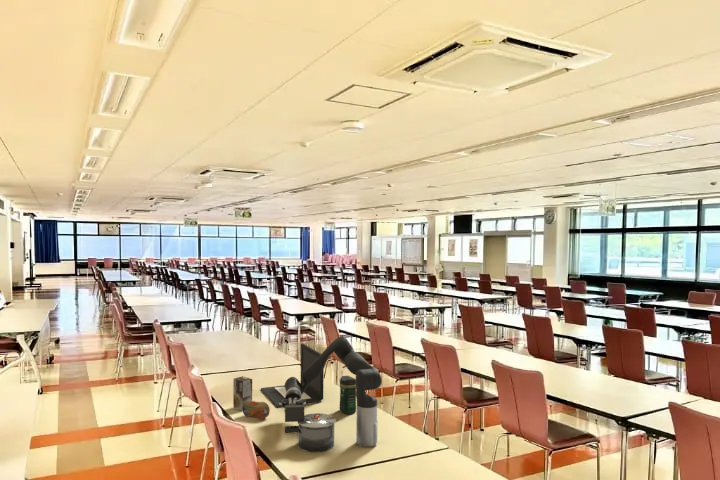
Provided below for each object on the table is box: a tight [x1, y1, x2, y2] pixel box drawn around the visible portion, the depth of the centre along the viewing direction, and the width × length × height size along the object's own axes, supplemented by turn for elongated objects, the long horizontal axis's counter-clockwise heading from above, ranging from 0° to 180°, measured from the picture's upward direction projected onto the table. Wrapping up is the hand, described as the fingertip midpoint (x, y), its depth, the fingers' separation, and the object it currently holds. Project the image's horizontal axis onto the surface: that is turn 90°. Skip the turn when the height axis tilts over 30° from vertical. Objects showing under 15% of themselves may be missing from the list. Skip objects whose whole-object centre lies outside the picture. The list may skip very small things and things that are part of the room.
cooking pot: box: [284, 424, 335, 453], centre depth 232 cm, size 22×16×10 cm
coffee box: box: [232, 375, 253, 412], centre depth 281 cm, size 9×6×16 cm
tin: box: [242, 400, 271, 420], centre depth 267 cm, size 15×3×8 cm, turn 69°
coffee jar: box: [339, 375, 357, 415], centre depth 278 cm, size 10×8×19 cm
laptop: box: [260, 343, 325, 409], centre depth 305 cm, size 37×27×27 cm
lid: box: [284, 405, 337, 428], centre depth 232 cm, size 22×17×7 cm
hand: (291, 409), depth 232 cm, fingers closed
